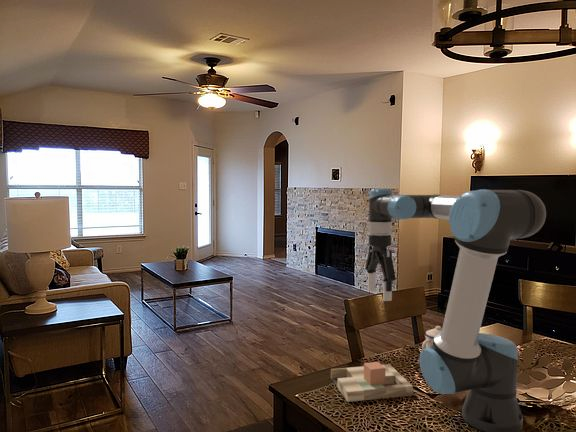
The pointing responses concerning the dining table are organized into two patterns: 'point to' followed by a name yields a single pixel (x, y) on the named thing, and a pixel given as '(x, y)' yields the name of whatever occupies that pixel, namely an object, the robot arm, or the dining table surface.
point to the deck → (359, 389)
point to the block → (374, 373)
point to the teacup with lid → (430, 337)
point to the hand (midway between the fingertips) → (379, 295)
